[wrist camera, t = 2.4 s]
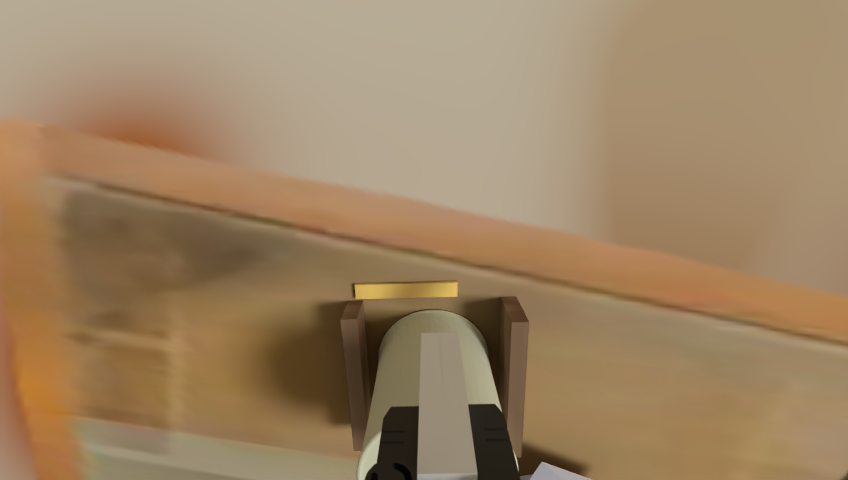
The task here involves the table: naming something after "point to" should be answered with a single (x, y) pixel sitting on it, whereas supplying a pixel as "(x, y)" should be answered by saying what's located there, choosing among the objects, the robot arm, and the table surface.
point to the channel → (512, 314)
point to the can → (403, 371)
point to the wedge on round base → (552, 474)
